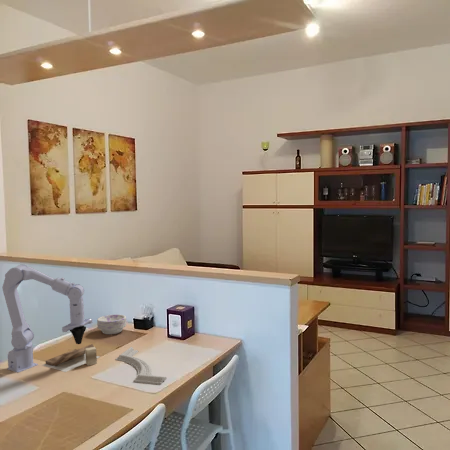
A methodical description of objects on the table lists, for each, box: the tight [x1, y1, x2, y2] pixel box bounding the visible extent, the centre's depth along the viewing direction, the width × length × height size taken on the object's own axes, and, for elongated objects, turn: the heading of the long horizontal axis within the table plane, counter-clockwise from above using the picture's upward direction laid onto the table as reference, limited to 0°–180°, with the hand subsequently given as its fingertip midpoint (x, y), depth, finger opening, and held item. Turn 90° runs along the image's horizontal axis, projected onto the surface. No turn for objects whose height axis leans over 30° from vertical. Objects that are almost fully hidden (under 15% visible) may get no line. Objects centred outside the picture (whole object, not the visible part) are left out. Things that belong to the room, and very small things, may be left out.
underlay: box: [42, 354, 100, 373], centre depth 190 cm, size 19×16×1 cm
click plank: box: [53, 343, 95, 366], centre depth 189 cm, size 16×8×1 cm
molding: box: [114, 346, 167, 385], centre depth 181 cm, size 42×12×3 cm, turn 30°
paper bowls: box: [96, 314, 127, 335], centre depth 231 cm, size 15×15×8 cm
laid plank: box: [45, 348, 78, 366], centre depth 192 cm, size 16×5×2 cm, turn 149°
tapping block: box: [85, 346, 98, 366], centre depth 186 cm, size 7×4×3 cm
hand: (78, 343), depth 187 cm, fingers closed
